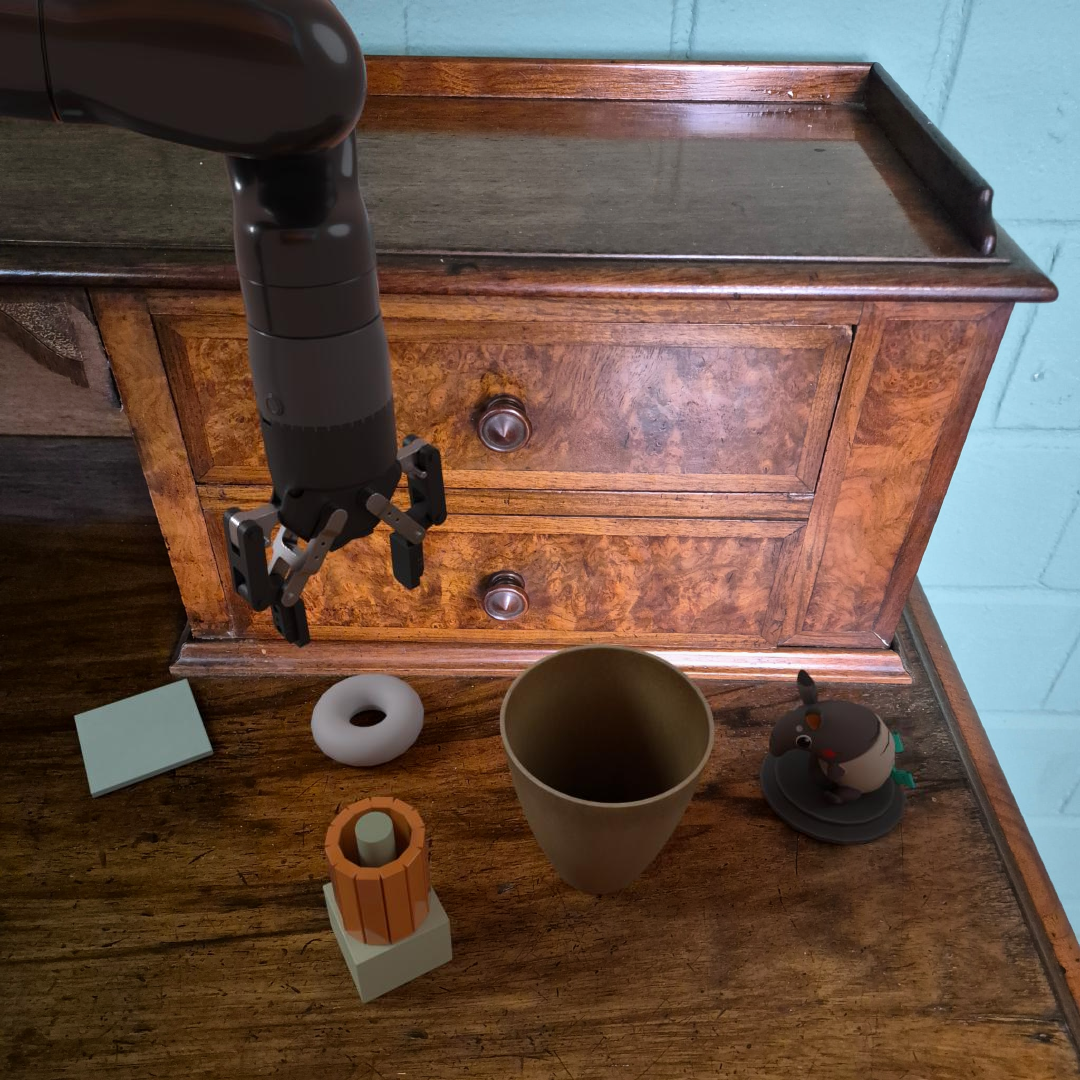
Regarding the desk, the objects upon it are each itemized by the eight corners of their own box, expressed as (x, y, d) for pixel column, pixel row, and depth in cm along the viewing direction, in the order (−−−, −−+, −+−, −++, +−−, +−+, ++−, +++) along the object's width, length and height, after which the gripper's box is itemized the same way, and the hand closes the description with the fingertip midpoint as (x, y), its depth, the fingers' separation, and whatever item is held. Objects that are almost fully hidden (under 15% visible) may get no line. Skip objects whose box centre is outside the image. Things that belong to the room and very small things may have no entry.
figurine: (918, 851, 76) (957, 752, 69) (767, 842, 77) (792, 743, 70) (885, 743, 85) (917, 647, 78) (751, 736, 86) (771, 639, 79)
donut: (291, 734, 85) (361, 794, 80) (285, 707, 83) (356, 766, 78) (377, 677, 91) (448, 728, 86) (373, 650, 89) (446, 701, 84)
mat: (93, 798, 79) (91, 793, 79) (75, 720, 86) (74, 715, 86) (213, 754, 83) (212, 749, 83) (188, 682, 90) (186, 678, 90)
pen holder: (357, 961, 63) (345, 895, 58) (326, 886, 67) (312, 820, 63) (445, 919, 65) (440, 852, 61) (409, 849, 70) (402, 783, 65)
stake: (363, 1004, 66) (341, 890, 58) (330, 925, 70) (306, 809, 62) (452, 959, 68) (443, 844, 60) (415, 886, 73) (402, 770, 65)
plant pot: (496, 788, 81) (493, 649, 71) (668, 775, 82) (687, 638, 72) (509, 952, 69) (507, 812, 59) (710, 935, 70) (739, 795, 61)
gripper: (390, 333, 59) (407, 542, 69) (173, 404, 51) (227, 630, 61) (466, 374, 55) (473, 592, 64) (241, 459, 47) (288, 693, 56)
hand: (354, 610), depth 62 cm, fingers open, 8 cm apart
